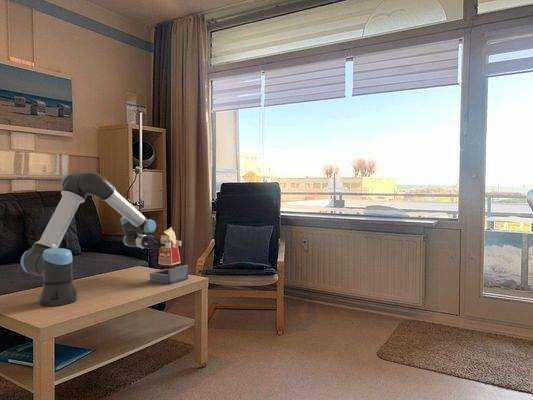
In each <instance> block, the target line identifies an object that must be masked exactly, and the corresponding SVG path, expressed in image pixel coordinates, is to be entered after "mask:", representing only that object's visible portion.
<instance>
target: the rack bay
mask: <svg viewBox="0 0 533 400" xmlns="http://www.w3.org/2000/svg"><path fill="white" fill-rule="evenodd" d="M187 280H189V265H188V264H184V265H180V266H175V267H172V268H171V267H170V268H165V269H162V270H157V271H153V272H149V281H150V282H153V283H159V284H164V285H165V284H166V285H172V284H177V283H180V282H183V281H184V282H185V281H187Z"/></svg>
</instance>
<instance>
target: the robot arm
mask: <svg viewBox="0 0 533 400" xmlns="http://www.w3.org/2000/svg"><path fill="white" fill-rule="evenodd" d="M60 186H61V191H60V194H61V199H60V200H59V202H58V204H57V206H56V208H55V210H54V212H53V214H52V216H51V218H50V219H49V222H48V223H47V225H46V227H45V229H44V231H43V233H42V235H41V236H40V239H39V240H38V241H36V242H34V243H33V244H32V246H31V248H29V249H28V250H26V251H24V253H23V254H22V256H21V258H20V266H21V268H22V270H23V271H24V272H26V273H27V274H30V275H31V276H39V277H43V279H42V280H43V283H42V285H43V286H42V289H41V292H40V296H39V298H38V305H40V306H43V307H58V306H65V305H68V304H72V303H75V302H77V300H78V293H77V292H76V288H75V286H74V283H73V280H74V279H73V260H74V259H73V254H72V251H71V250H70V249H67V248H62V247H61V248H60V244H61V242H62V241H63V238H64V236H65V234H66V233H67V230H68V228H69V226H70V224H71V222H72V220H73V219H74V216H75V214H76V212H77V211H78V208H79V207H80V206H79V205H80V204H83V203H85V200H86V199H87V196H93V197H95V198H98V200H99V201H104V202H106V203H107V205H109V206H110V207H111V208H113V209H114V210H115V211H116V212H117V213H118V214H120V215H121V216H122V217H121V218H120V224H121V227H122V229H123V232H124V236H123V238H122V239H123V244H124V245H125V246H127V247H130V248H141V250H143V249H150V250H151V249H153V248H158V249H160V248H161V247H165V248H171V243H167V242H160V241H161V238H155V237H154V236H153V235H152V234H151V233H154V232H155V230H156V228H157V223H156V221H155V220H153V219H148V218H147V217H146V216H145V215H143V213H141V212H140V211H139V210H138V209H137V208H136V207H135V206H133V204H132V203H131V202H129V200H127V199H126V198H125V197H124V196H122V194H121V193H119V192H118V191H117V190H116V186H115V185H114V184H112V182H111V181H109V180H108V179H107V178H105V177H104V176H102V175H101V174H99V173H97V172H93V171H84V172H83V171H82V172H81V171H80V172H78V171H77V172H76V171H74V172H70V173H68V174H66V175H65V176H64V177H63V178H62V180H61V182H60ZM140 233H143V234H140ZM150 234H151V235H150ZM177 246H178V247H181V246H182V240H177Z"/></svg>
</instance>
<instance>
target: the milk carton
mask: <svg viewBox="0 0 533 400" xmlns="http://www.w3.org/2000/svg"><path fill="white" fill-rule="evenodd" d="M160 239H161V241H160V242H167V243H171V248H165V247H161V248H158V250H159V251H158V264H159V265H162V266H173V265H177V264H181V256H180V252H179V246H177V241H178V240H177V237H176V234H175V231H174V230H173V226H170V227H169V228H168V229H167V230H164V231H163V234H161V236H160Z"/></svg>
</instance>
